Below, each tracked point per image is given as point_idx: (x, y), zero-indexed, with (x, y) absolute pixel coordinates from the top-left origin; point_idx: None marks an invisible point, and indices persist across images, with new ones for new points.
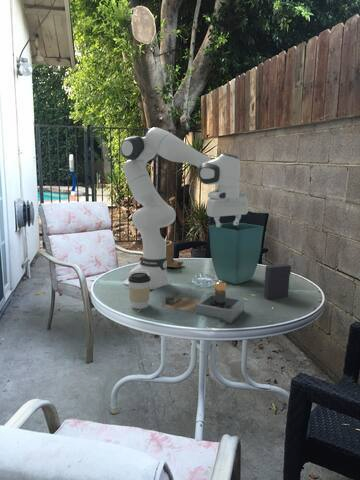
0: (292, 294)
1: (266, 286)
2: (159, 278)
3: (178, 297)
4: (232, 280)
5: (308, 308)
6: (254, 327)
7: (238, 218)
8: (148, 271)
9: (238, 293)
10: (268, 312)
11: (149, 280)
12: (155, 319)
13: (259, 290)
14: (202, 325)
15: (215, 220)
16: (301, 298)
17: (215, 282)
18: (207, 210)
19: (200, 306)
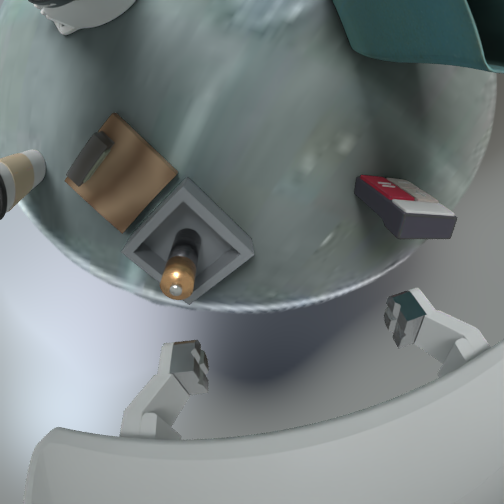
0: (422, 184)
1: (369, 197)
2: (89, 12)
3: (99, 162)
4: (350, 39)
5: (383, 262)
6: (227, 308)
7: (439, 356)
8: (47, 15)
9: (316, 116)
10: (300, 259)
11: (5, 208)
12: (57, 229)
13: (383, 122)
14: (135, 277)
15: (143, 403)
16: None
17: (163, 280)
18: (42, 478)
19: (132, 259)
